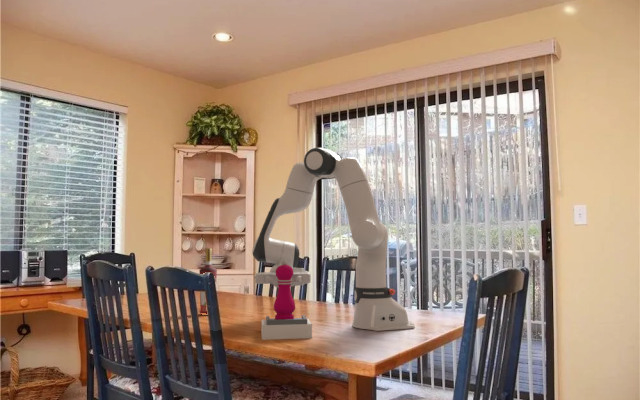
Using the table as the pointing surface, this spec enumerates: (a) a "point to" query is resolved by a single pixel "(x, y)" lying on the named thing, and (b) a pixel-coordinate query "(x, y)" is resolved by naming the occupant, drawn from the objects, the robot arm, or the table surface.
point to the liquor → (207, 268)
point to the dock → (286, 328)
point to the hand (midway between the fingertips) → (284, 279)
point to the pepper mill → (284, 293)
